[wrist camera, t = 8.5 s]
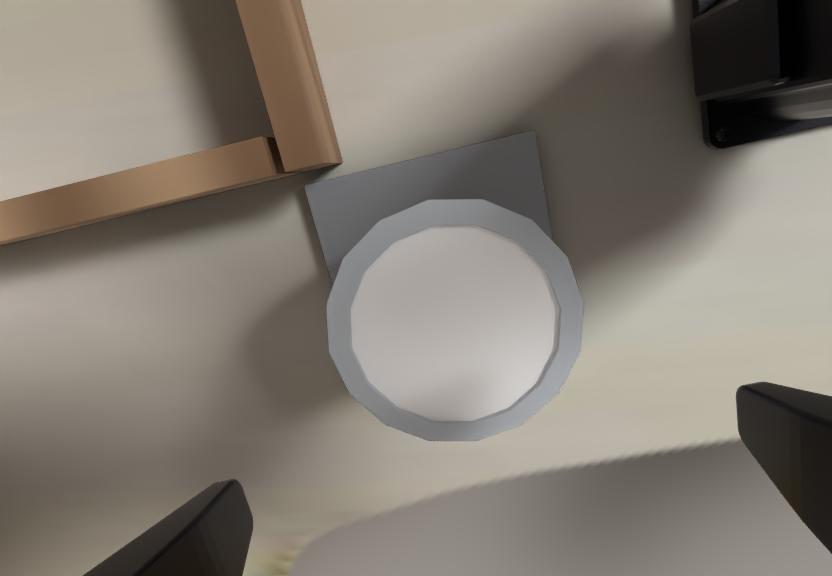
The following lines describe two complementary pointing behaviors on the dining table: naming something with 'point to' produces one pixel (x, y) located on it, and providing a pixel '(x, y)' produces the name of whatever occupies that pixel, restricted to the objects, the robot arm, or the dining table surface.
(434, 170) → the coaster
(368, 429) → the dining table surface
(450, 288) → the white cup
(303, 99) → the brown wooden u-shaped piece
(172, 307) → the dining table surface
